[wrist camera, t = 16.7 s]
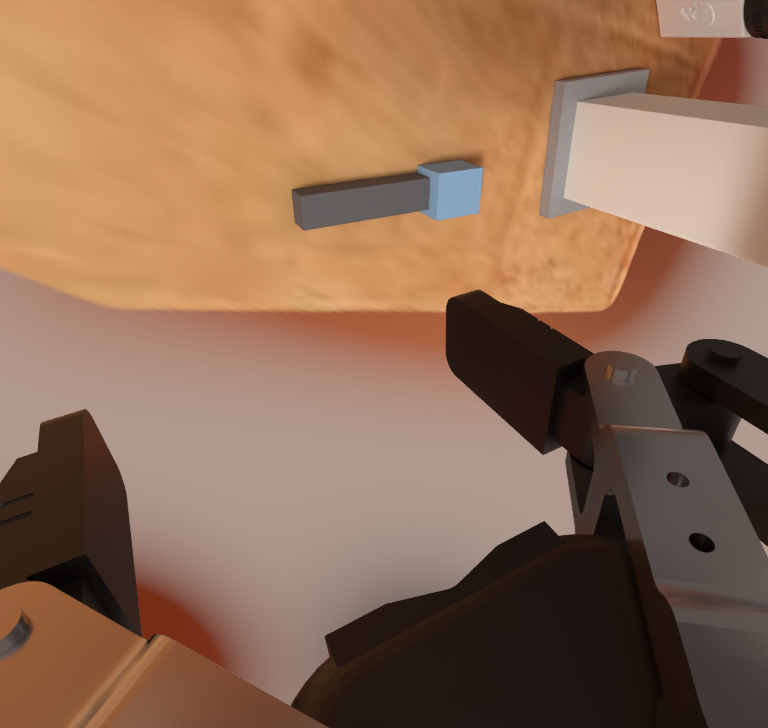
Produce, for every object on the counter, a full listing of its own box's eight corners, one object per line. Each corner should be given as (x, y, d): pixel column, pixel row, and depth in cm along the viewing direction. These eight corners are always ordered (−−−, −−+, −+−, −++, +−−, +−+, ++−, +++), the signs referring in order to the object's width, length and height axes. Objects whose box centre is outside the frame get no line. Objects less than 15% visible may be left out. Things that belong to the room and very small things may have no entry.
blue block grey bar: (295, 230, 47) (310, 243, 44) (290, 181, 45) (305, 192, 42) (456, 203, 54) (478, 213, 51) (459, 159, 52) (483, 167, 49)
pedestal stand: (498, 225, 58) (792, 360, 34) (507, 87, 50) (900, 138, 26) (613, 195, 64) (930, 292, 40) (638, 68, 56) (1053, 95, 32)
